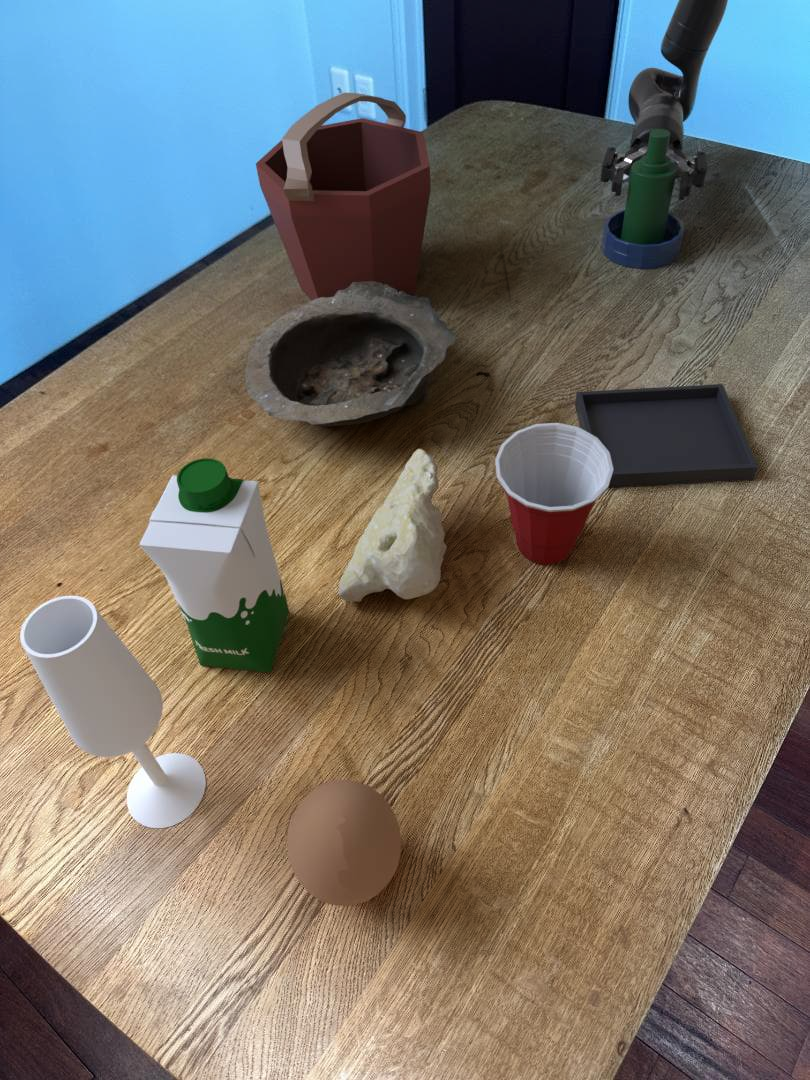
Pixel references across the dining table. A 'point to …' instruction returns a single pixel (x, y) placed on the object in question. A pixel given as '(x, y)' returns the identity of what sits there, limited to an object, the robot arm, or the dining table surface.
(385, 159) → the bucket
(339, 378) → the stone bowl
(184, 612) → the milk carton
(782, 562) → the dining table surface
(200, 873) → the dining table surface
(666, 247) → the bowl
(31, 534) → the dining table surface
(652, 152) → the bottle
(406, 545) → the cheese
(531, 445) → the plastic cup
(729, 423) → the tray
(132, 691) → the champagne flute
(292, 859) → the egg
